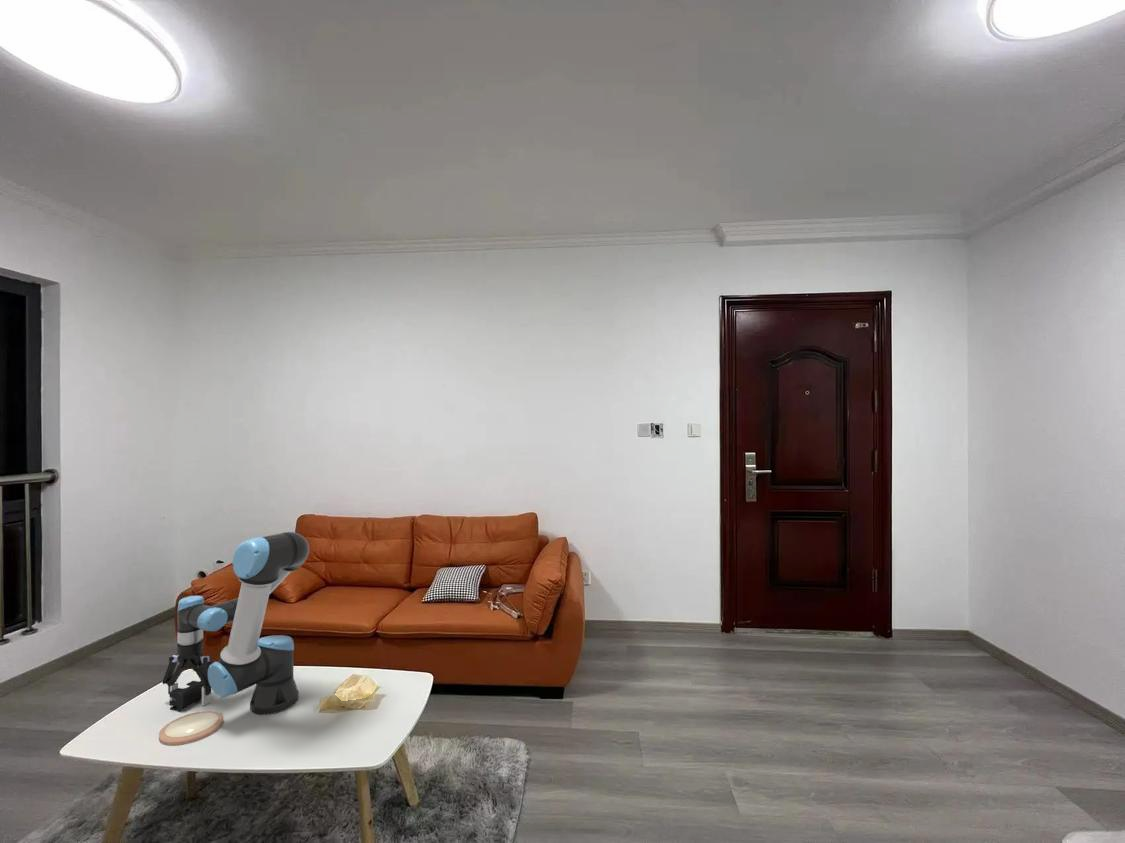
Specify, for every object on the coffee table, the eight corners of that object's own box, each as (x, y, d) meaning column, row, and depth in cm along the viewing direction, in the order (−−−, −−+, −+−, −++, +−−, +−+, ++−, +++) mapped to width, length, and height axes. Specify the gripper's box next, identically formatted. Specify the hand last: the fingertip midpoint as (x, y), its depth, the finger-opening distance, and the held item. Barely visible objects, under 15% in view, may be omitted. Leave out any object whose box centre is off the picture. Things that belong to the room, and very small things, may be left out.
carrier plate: (235, 716, 175) (235, 710, 175) (197, 746, 158) (197, 740, 158) (187, 714, 176) (187, 709, 176) (144, 744, 159) (144, 739, 159)
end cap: (183, 713, 177) (183, 693, 177) (167, 710, 179) (168, 690, 179) (210, 699, 187) (210, 680, 187) (195, 696, 189) (195, 677, 189)
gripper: (229, 637, 187) (228, 698, 186) (167, 636, 188) (166, 697, 187) (214, 646, 179) (213, 710, 179) (149, 644, 180) (149, 708, 180)
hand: (189, 703), depth 183 cm, fingers open, 11 cm apart
